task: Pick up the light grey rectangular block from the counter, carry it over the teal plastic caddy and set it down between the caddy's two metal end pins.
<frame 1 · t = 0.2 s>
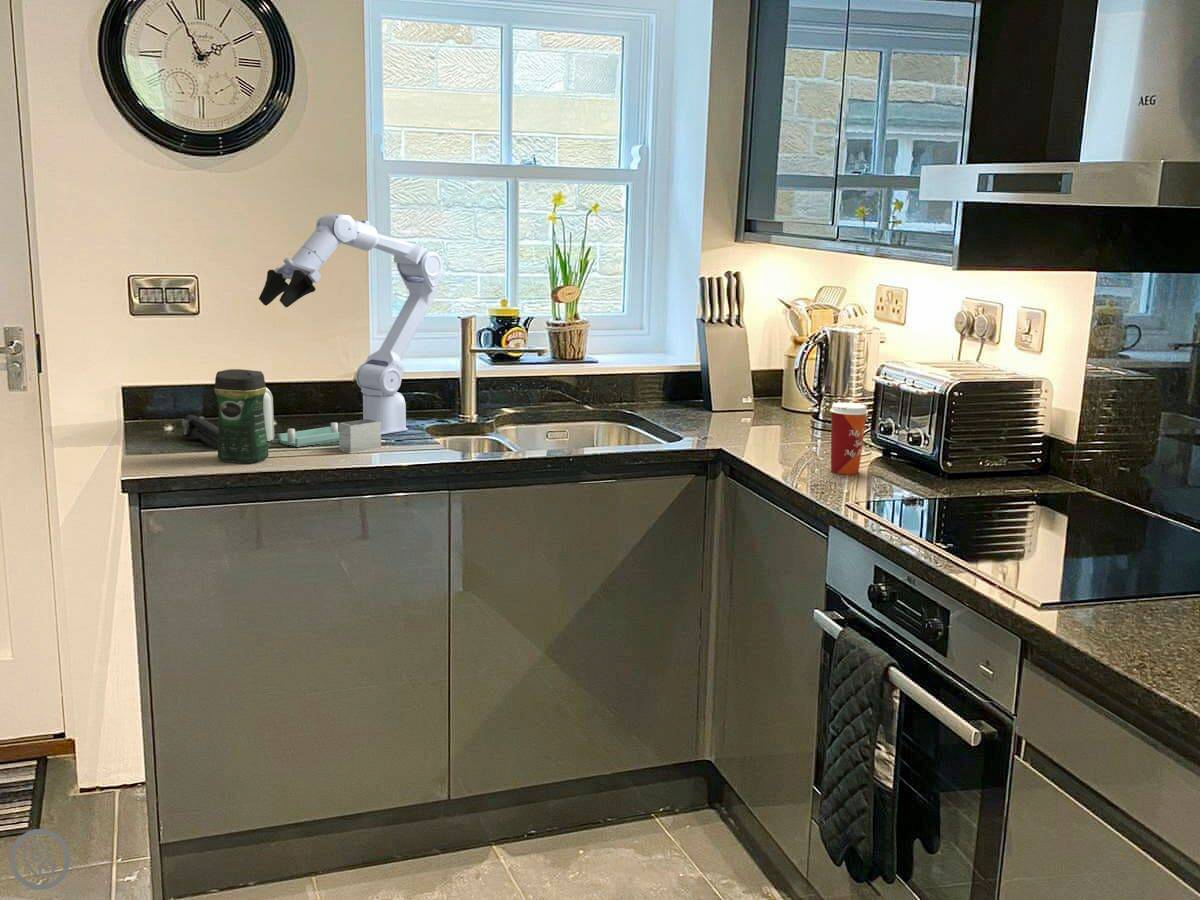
hand: (272, 303, 242), 31 cm above the worktop, tool tilted 45°, fingers open, 7 cm apart
paper cup: (844, 472, 241), on the worktop
light grey rectangular block: (360, 449, 250), on the worktop
caddy: (313, 441, 256), on the worktop
can opener: (206, 444, 253), on the worktop
coffee jar: (243, 460, 237), on the worktop
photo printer: (258, 439, 258), on the worktop
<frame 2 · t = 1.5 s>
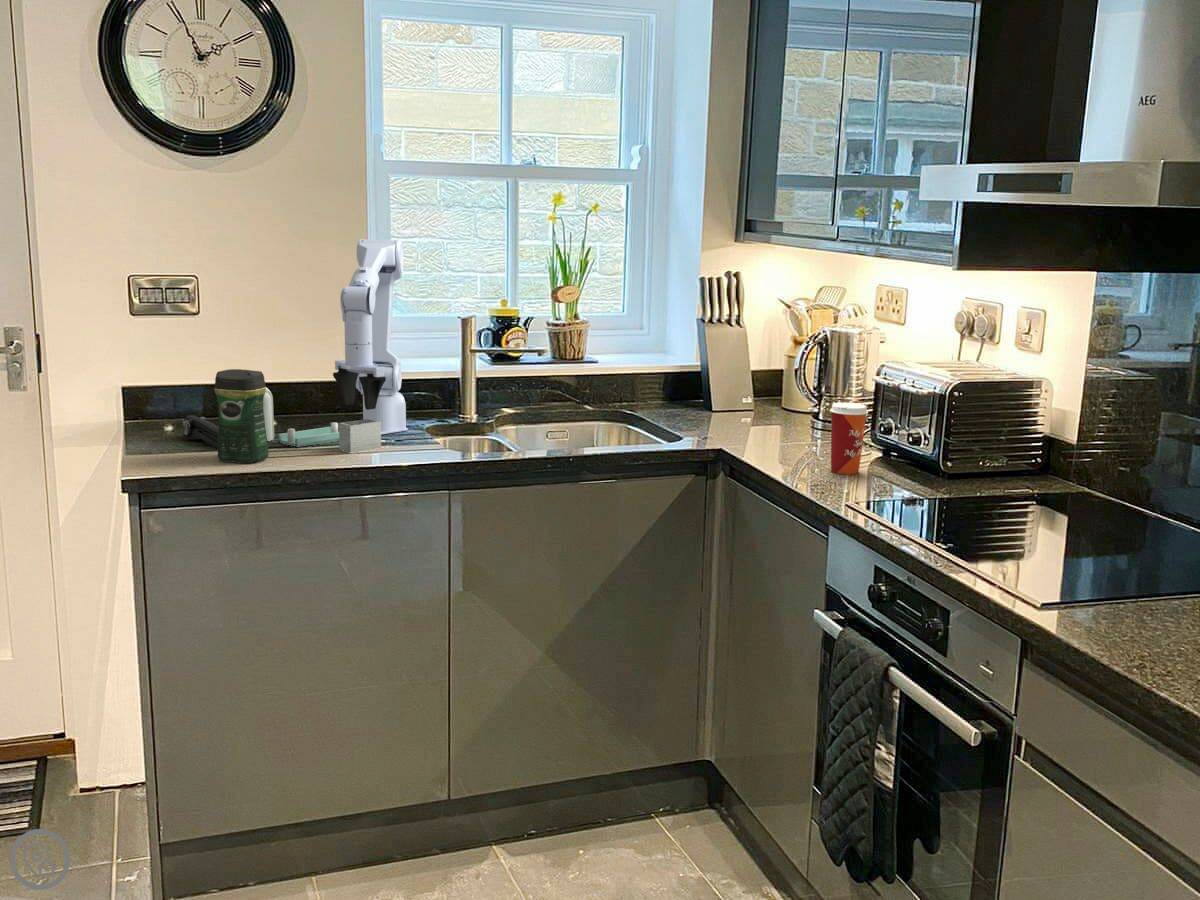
hand: (359, 406, 248), 9 cm above the worktop, tool pointing down, fingers open, 7 cm apart
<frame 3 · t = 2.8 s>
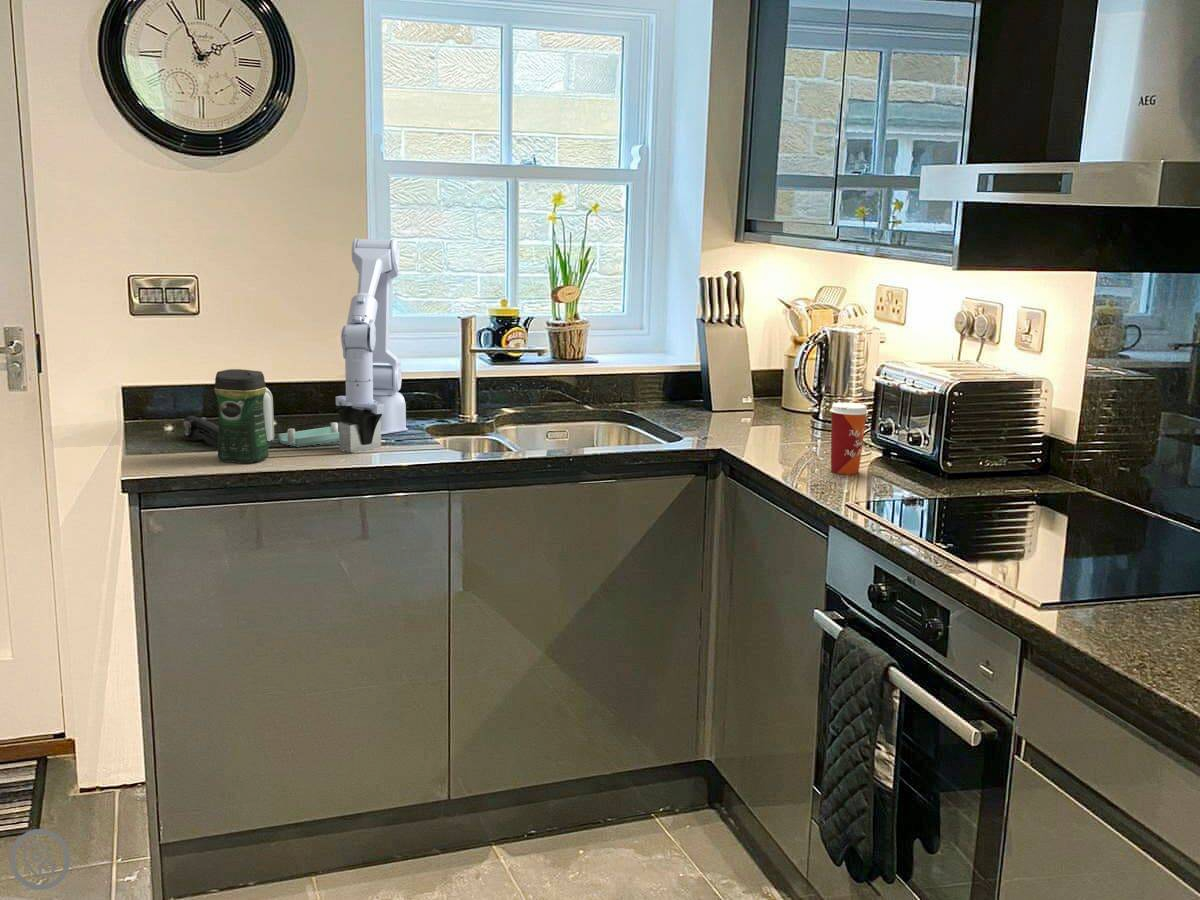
hand: (360, 442, 250), 1 cm above the worktop, tool pointing down, fingers closed on light grey rectangular block, 4 cm apart
light grey rectangular block: (360, 449, 250), on the worktop, touching gripper
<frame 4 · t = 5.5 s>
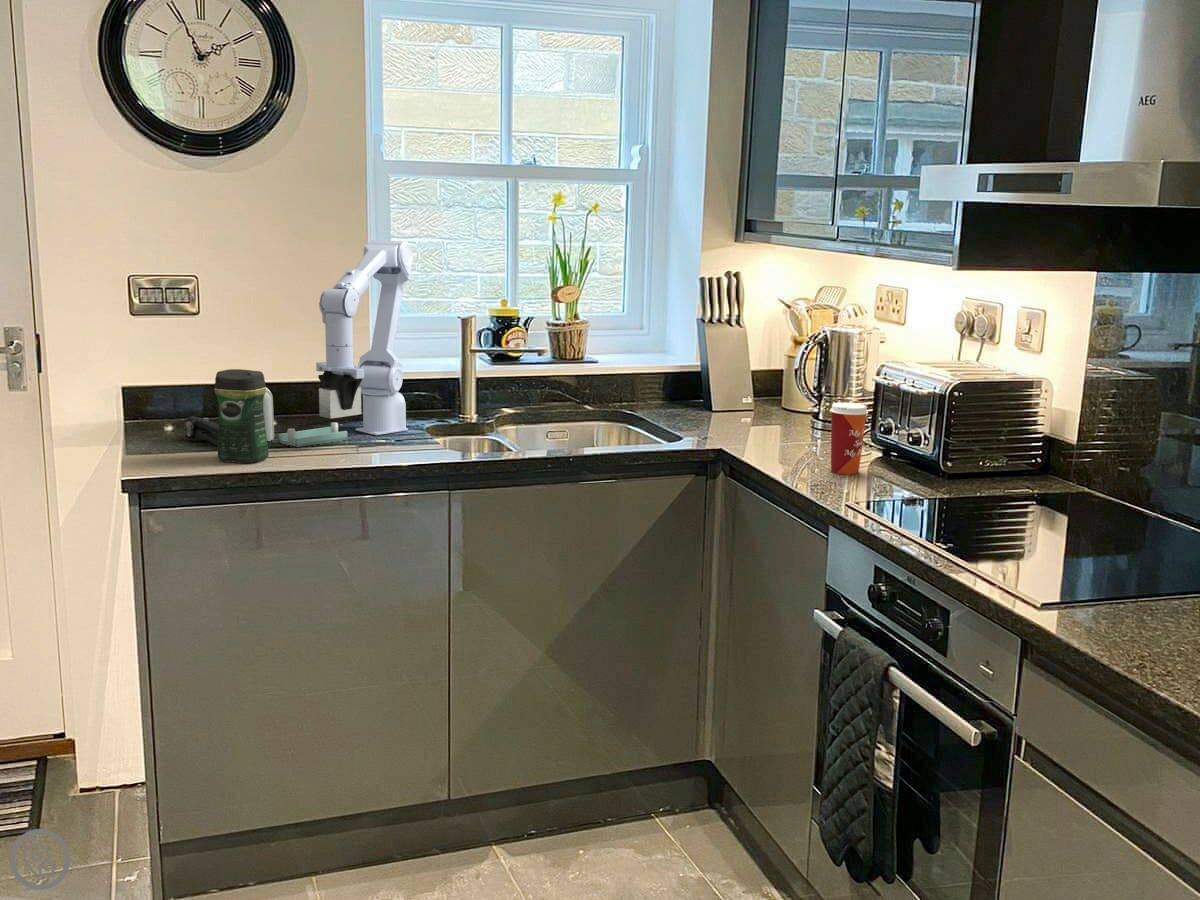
hand: (340, 407, 251), 8 cm above the worktop, tool pointing down, fingers closed on light grey rectangular block, 4 cm apart
light grey rectangular block: (340, 415, 251), point 7 cm above the worktop, touching gripper
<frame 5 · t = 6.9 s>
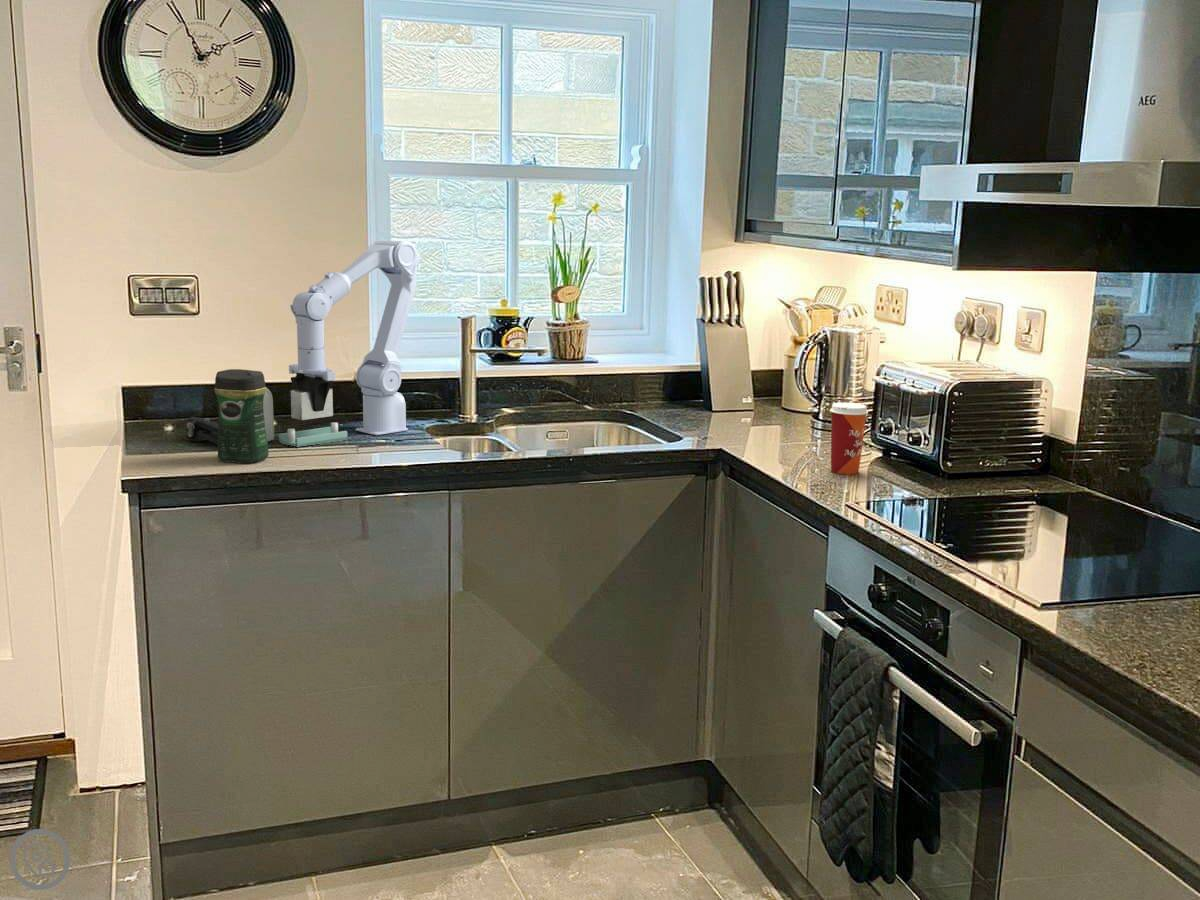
hand: (312, 409, 255), 7 cm above the worktop, tool pointing down, fingers closed on light grey rectangular block, 4 cm apart
light grey rectangular block: (312, 416, 255), point 6 cm above the worktop, touching gripper
when the fingers open (4 cm above the worktop, at t = 8.0 s): light grey rectangular block drops 1 cm, resting on caddy.
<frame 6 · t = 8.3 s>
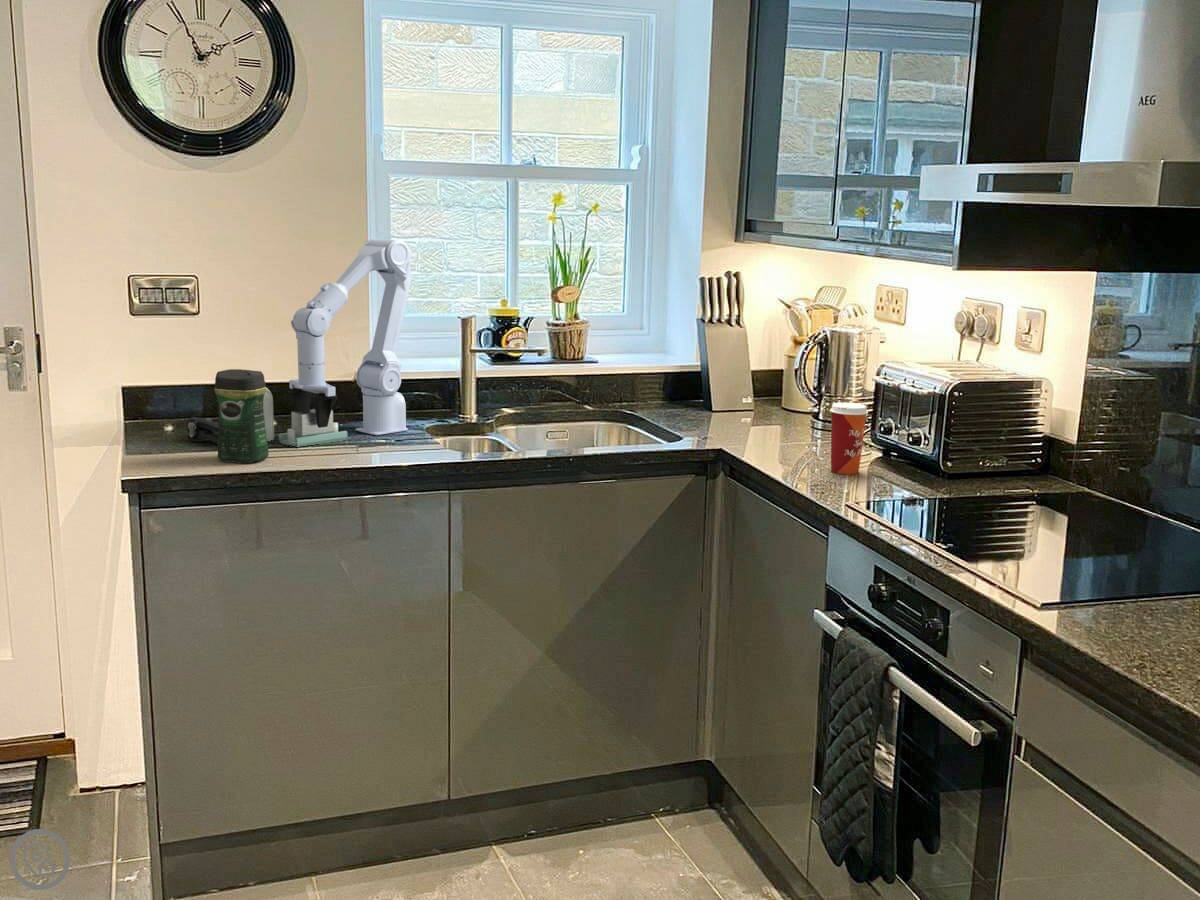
hand: (313, 424, 256), 4 cm above the worktop, tool pointing down, fingers open, 7 cm apart
light grey rectangular block: (312, 438, 256), point 1 cm above the worktop, touching caddy
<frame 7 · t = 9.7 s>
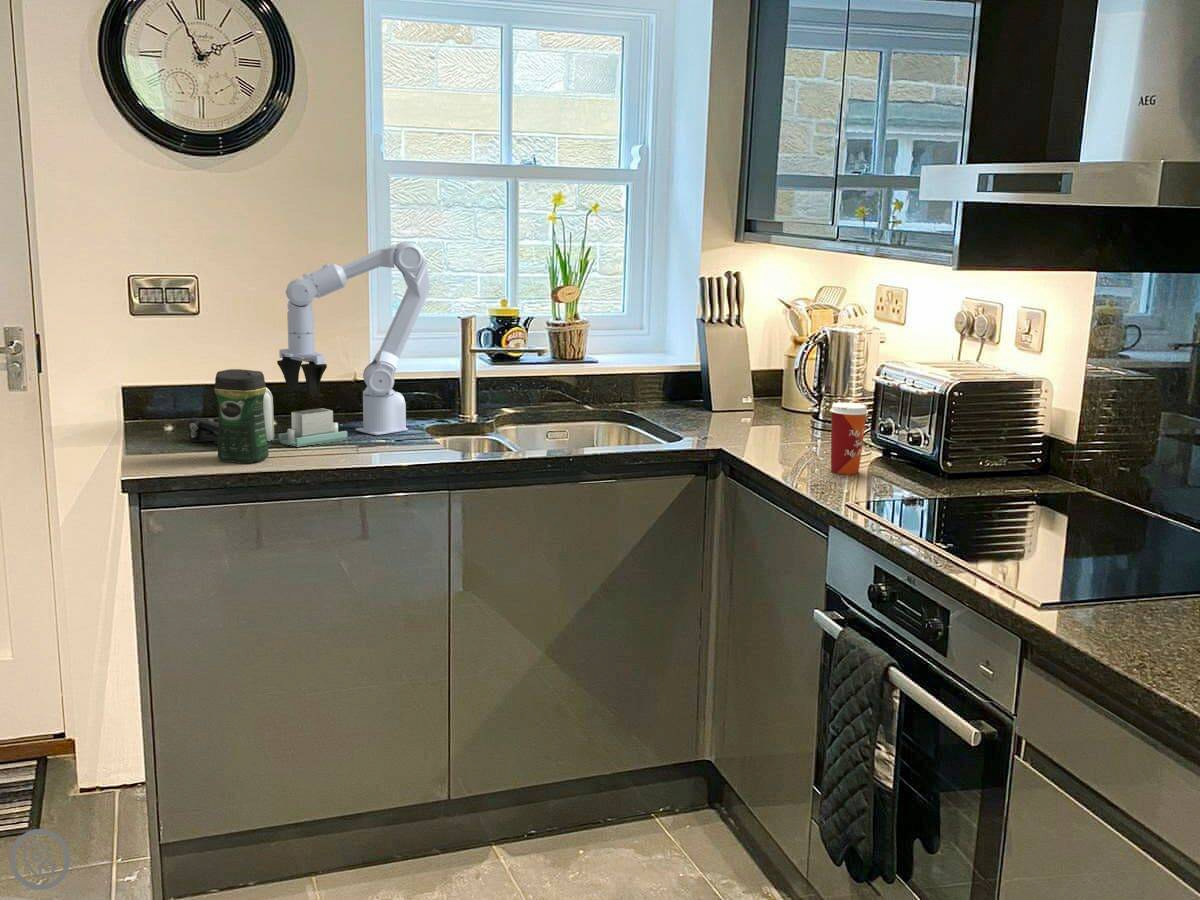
hand: (302, 392, 263), 9 cm above the worktop, tool pointing down, fingers open, 7 cm apart
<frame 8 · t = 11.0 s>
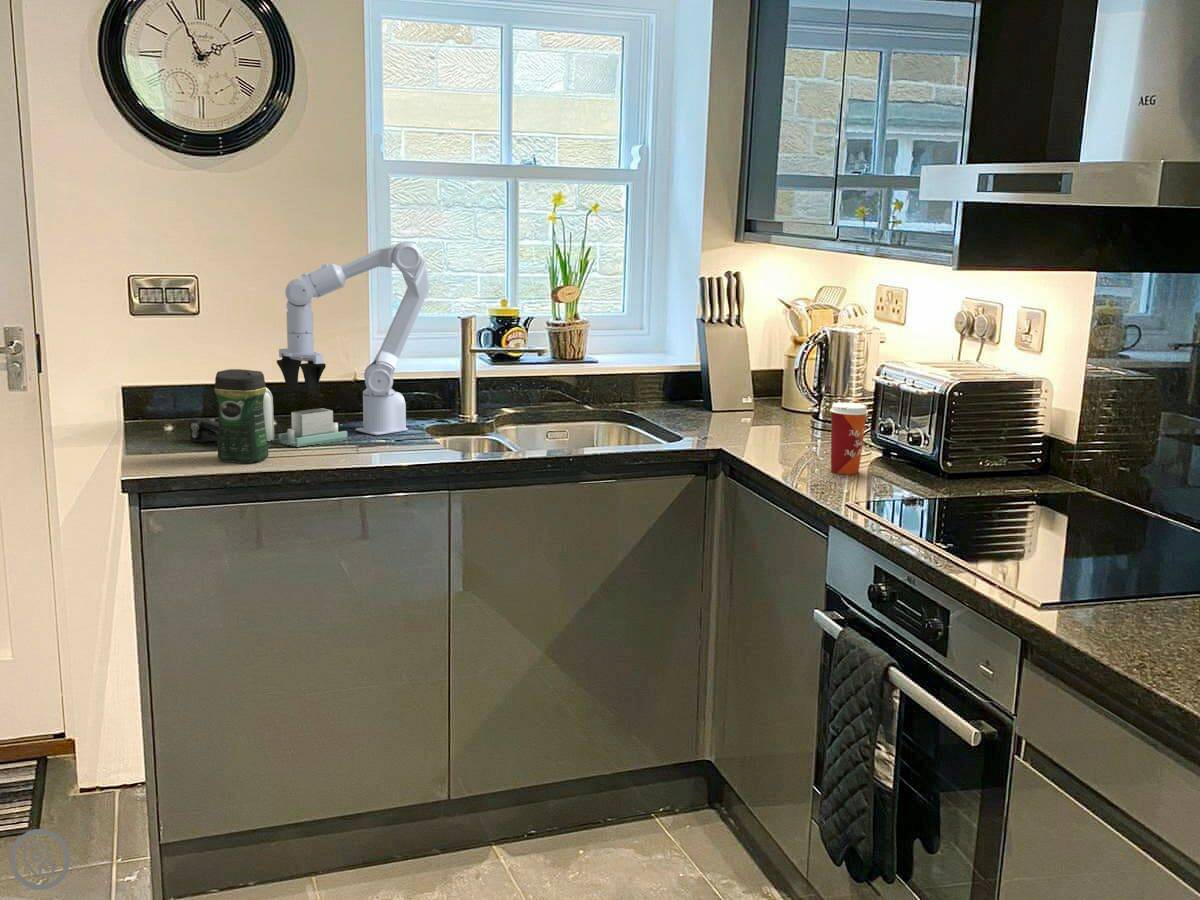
hand: (301, 392, 264), 9 cm above the worktop, tool pointing down, fingers open, 7 cm apart
at the end: light grey rectangular block 0.1 cm off-centre on the caddy, point 0.8 cm above the caddy's base; light grey rectangular block tilted 0°; the gripper is holding nothing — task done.
